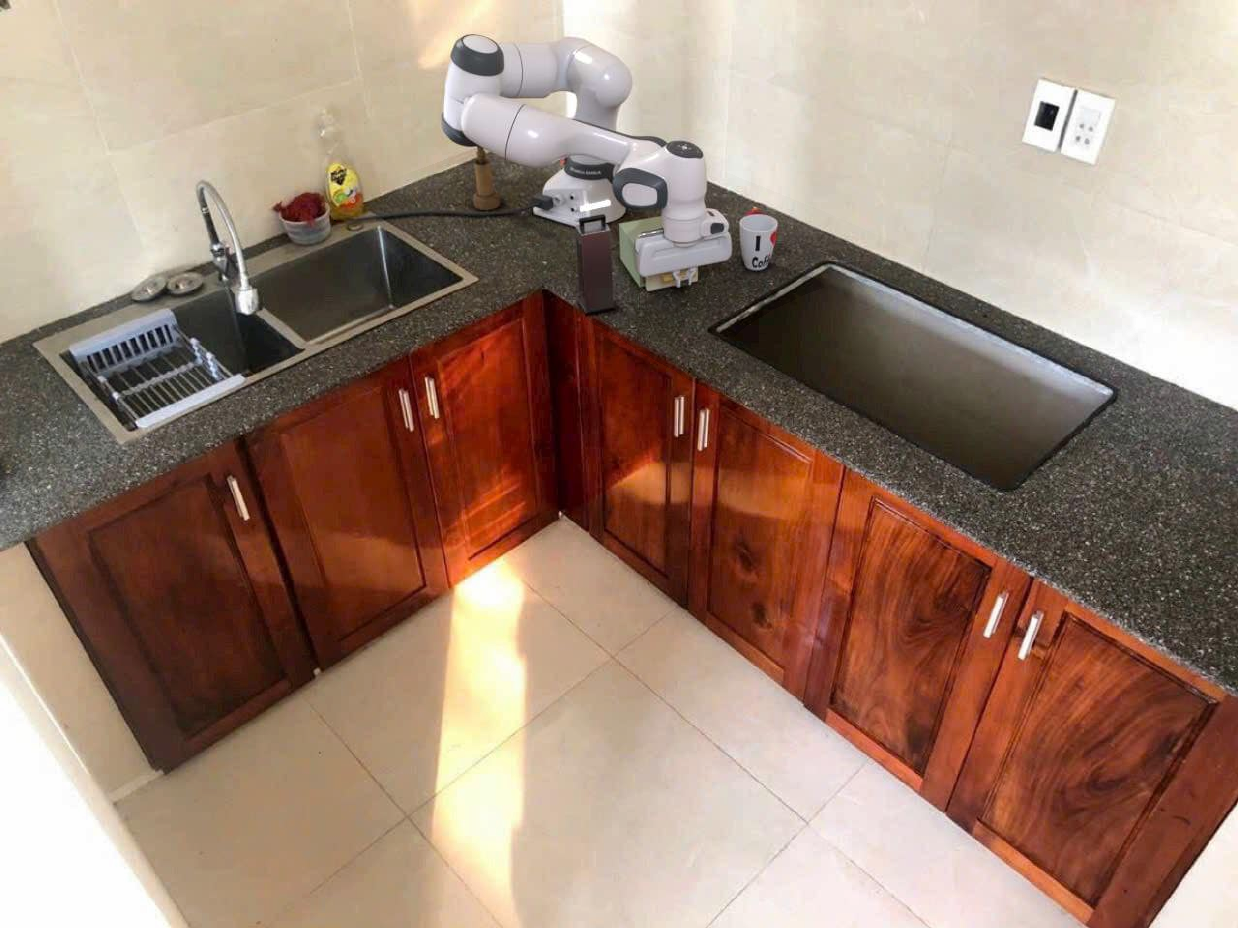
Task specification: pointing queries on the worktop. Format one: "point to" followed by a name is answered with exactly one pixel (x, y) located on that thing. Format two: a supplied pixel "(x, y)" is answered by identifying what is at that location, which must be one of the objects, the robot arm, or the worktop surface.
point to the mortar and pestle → (484, 183)
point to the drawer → (665, 279)
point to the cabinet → (627, 238)
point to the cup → (757, 240)
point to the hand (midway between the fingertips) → (682, 285)
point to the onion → (754, 212)
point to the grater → (594, 265)
